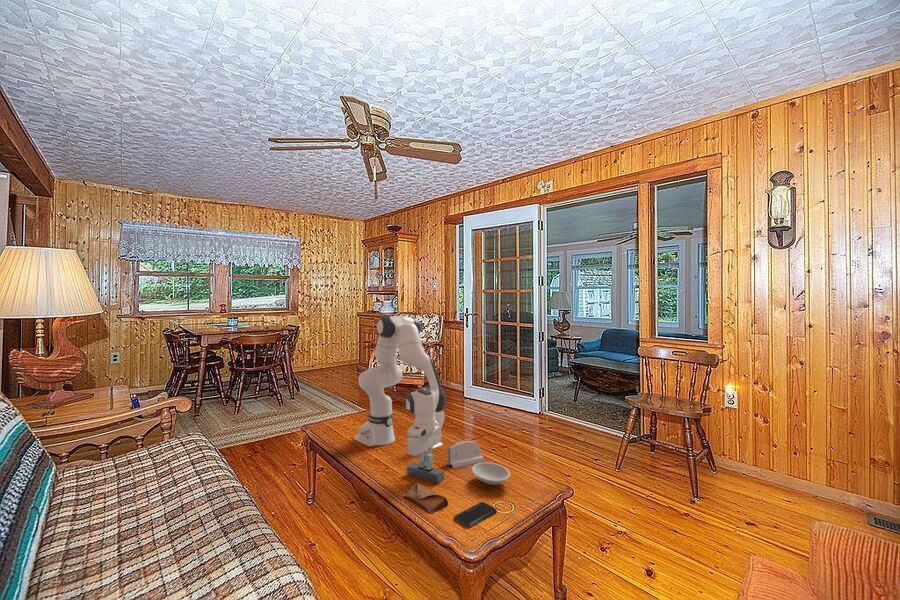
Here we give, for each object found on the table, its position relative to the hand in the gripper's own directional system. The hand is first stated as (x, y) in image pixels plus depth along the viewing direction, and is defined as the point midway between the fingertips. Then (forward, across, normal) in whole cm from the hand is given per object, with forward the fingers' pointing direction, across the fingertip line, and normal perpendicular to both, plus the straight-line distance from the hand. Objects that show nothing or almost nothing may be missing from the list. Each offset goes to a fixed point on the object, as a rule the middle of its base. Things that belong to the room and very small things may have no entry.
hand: (425, 458), depth 169 cm
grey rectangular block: (+8, 0, 0) cm, 8 cm away
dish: (+8, -10, +26) cm, 29 cm away
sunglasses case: (+8, +16, +11) cm, 21 cm away
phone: (+8, +14, +32) cm, 36 cm away
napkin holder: (+8, -22, +6) cm, 24 cm away
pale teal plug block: (+4, 0, 0) cm, 4 cm away
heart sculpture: (+8, -29, -17) cm, 35 cm away
